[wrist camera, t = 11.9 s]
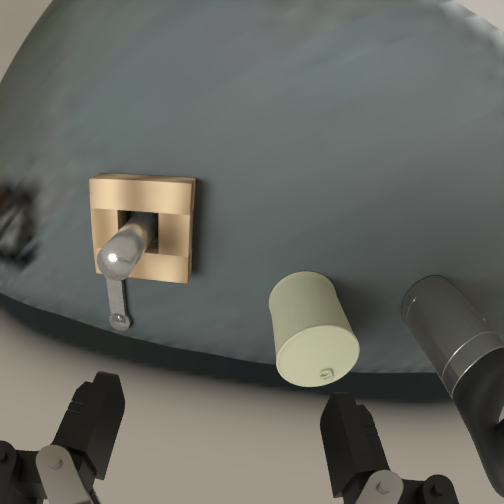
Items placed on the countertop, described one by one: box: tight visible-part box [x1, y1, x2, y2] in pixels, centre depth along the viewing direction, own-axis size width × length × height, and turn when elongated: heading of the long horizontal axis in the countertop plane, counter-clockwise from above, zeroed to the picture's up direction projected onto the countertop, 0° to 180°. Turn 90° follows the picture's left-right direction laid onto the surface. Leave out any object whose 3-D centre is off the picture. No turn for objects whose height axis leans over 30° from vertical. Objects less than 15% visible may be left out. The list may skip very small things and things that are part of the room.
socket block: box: [90, 173, 196, 283], centre depth 36 cm, size 12×12×3 cm
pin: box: [97, 211, 159, 281], centre depth 32 cm, size 4×4×11 cm
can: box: [269, 271, 360, 387], centre depth 37 cm, size 9×9×12 cm
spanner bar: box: [106, 277, 131, 331], centre depth 41 cm, size 11×3×1 cm, turn 174°
